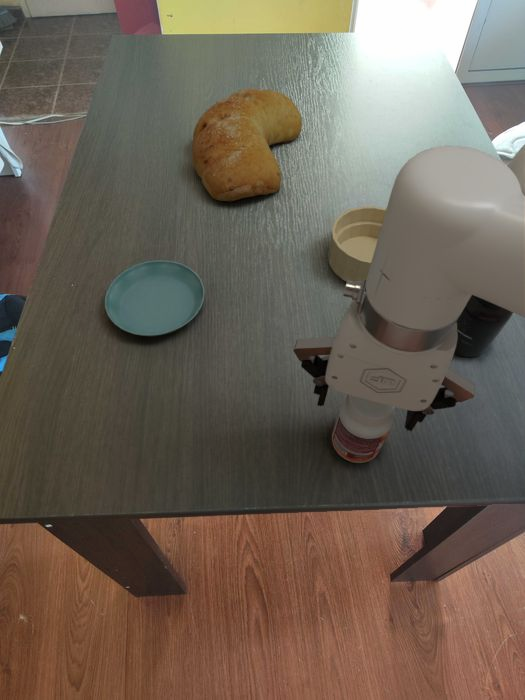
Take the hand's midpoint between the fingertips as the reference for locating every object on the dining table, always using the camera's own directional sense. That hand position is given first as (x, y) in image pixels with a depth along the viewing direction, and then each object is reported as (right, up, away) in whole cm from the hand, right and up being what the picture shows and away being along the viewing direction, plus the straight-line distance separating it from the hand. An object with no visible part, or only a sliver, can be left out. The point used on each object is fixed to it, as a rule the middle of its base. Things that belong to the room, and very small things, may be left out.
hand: (365, 406), depth 51 cm
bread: (-15, +45, +42) cm, 64 cm away
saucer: (-27, +13, +20) cm, 36 cm away
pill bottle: (0, -5, +7) cm, 9 cm away
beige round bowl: (+6, +21, +25) cm, 33 cm away
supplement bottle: (+18, +8, +16) cm, 26 cm away
